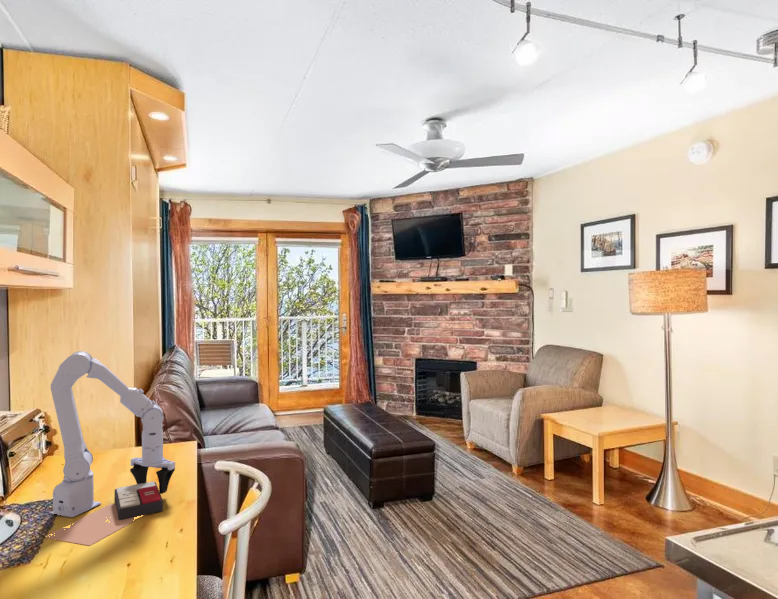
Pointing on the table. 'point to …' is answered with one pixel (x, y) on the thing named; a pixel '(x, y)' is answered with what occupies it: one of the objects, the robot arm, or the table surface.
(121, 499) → the black white red box
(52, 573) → the table surface
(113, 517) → the mat
